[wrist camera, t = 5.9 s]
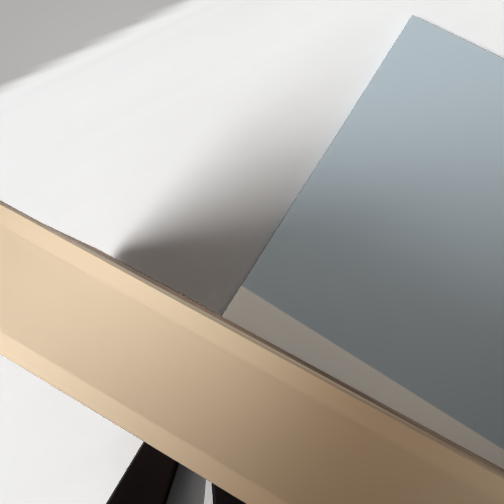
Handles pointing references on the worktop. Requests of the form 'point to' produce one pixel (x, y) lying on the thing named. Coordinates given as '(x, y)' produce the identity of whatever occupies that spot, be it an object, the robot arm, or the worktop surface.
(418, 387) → the card
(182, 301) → the fence swing panel
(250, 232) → the worktop surface
